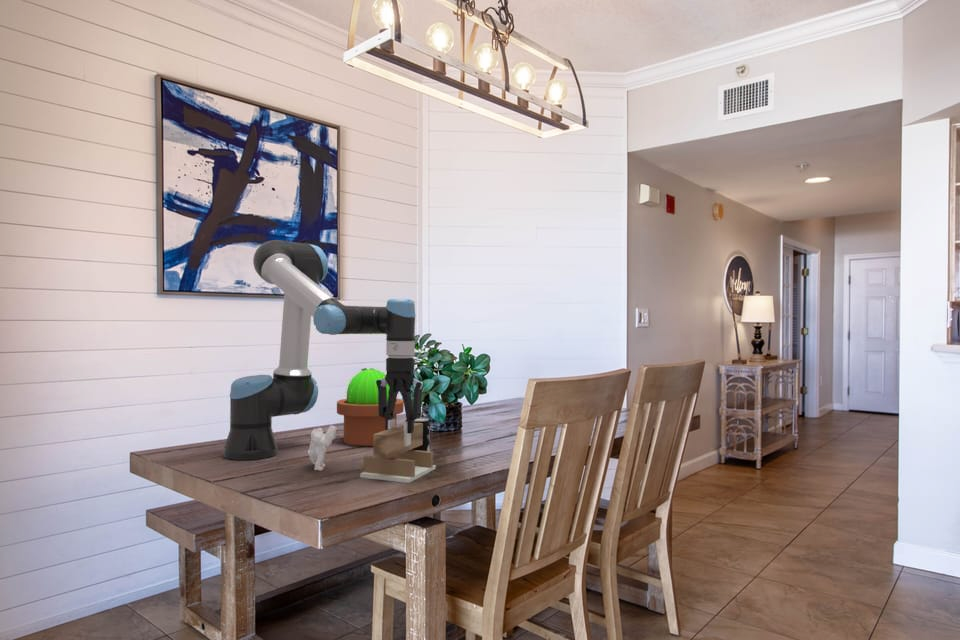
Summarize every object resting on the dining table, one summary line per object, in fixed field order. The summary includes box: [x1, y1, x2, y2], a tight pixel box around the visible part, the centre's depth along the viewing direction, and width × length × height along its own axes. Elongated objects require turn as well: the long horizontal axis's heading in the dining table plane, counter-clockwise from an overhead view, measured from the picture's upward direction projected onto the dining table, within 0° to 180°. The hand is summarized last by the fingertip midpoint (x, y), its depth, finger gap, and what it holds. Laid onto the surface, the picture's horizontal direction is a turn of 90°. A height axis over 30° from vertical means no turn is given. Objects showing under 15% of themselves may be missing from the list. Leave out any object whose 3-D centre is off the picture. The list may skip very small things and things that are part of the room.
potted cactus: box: [336, 367, 405, 447], centre depth 204 cm, size 22×22×25 cm
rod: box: [372, 423, 423, 459], centre depth 162 cm, size 4×20×6 cm, turn 159°
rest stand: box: [359, 450, 437, 484], centre depth 162 cm, size 14×16×5 cm
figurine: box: [307, 425, 338, 472], centre depth 166 cm, size 10×5×12 cm, turn 52°
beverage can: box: [411, 417, 431, 452], centre depth 177 cm, size 7×7×12 cm
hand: (399, 444), depth 162 cm, fingers closed on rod, 4 cm apart
